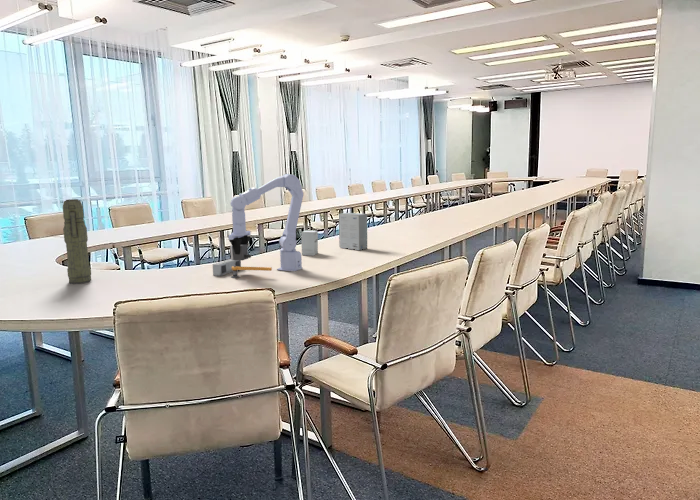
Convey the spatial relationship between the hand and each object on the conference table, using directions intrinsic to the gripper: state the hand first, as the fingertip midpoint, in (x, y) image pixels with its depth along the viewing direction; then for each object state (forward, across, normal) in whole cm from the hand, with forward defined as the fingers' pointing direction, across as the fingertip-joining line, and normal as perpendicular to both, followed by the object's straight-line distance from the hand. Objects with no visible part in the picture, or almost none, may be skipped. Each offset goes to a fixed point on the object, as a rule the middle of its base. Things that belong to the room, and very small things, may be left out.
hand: (240, 253), depth 238 cm
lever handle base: (+9, +8, +2) cm, 12 cm away
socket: (+9, +1, -7) cm, 12 cm away
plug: (+3, 0, +1) cm, 3 cm away
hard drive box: (+10, -78, +23) cm, 81 cm away
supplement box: (+10, -52, +8) cm, 54 cm away
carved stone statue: (+9, +39, -56) cm, 68 cm away
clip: (+6, +6, +10) cm, 13 cm away
